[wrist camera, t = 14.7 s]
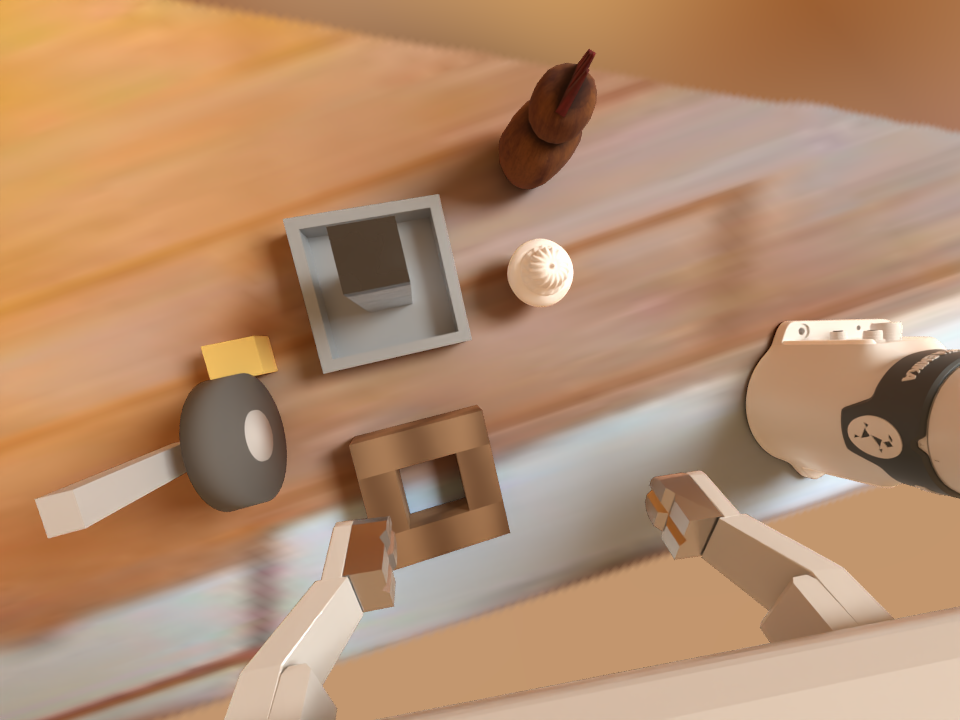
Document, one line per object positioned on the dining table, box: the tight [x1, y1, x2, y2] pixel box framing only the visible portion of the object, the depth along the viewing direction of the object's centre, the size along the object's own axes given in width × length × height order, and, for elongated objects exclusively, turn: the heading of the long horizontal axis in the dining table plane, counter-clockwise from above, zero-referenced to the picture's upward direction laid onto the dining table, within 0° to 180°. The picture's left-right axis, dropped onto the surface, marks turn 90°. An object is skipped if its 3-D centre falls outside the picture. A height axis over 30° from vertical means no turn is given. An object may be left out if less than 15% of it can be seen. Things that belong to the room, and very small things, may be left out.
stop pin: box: [326, 216, 412, 313], centre depth 28 cm, size 4×4×12 cm
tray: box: [283, 194, 472, 374], centre depth 33 cm, size 13×13×3 cm
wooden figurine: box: [499, 49, 597, 189], centre depth 29 cm, size 7×6×15 cm
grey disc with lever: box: [35, 336, 287, 538], centre depth 25 cm, size 7×13×15 cm, turn 13°
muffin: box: [507, 239, 573, 307], centre depth 33 cm, size 6×6×7 cm
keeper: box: [349, 405, 510, 570], centre depth 34 cm, size 12×12×3 cm
